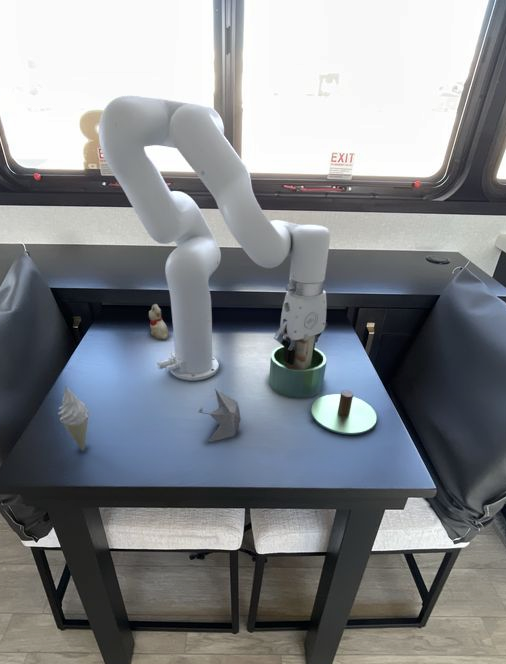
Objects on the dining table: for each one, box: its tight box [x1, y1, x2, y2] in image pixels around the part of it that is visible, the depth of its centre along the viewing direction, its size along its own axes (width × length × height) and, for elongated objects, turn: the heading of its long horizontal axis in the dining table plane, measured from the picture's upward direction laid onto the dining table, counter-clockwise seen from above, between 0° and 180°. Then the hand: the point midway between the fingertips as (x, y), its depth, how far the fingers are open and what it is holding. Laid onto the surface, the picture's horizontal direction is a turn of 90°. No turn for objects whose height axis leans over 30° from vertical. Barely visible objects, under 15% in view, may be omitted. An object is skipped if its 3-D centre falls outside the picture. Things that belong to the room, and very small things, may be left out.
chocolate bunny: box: [148, 303, 170, 341], centre depth 122 cm, size 6×8×10 cm
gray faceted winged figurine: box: [197, 388, 241, 443], centre depth 87 cm, size 12×6×9 cm
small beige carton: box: [285, 334, 315, 369], centre depth 98 cm, size 5×4×10 cm
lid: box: [310, 389, 378, 436], centre depth 91 cm, size 14×14×6 cm
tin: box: [268, 345, 328, 399], centre depth 101 cm, size 13×13×8 cm
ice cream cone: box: [57, 386, 90, 452], centre depth 77 cm, size 5×5×15 cm
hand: (298, 358), depth 100 cm, fingers closed on small beige carton, 5 cm apart
